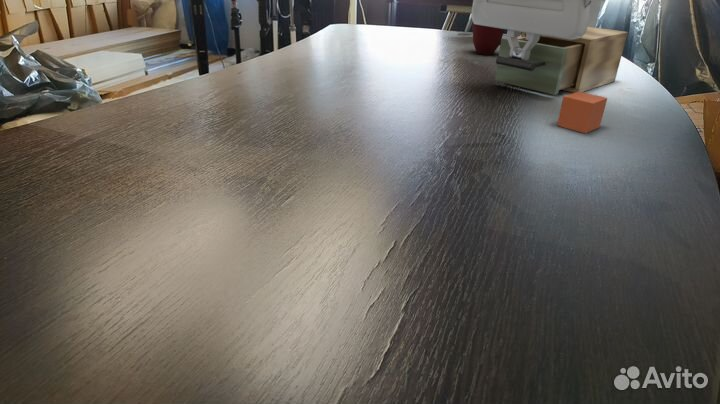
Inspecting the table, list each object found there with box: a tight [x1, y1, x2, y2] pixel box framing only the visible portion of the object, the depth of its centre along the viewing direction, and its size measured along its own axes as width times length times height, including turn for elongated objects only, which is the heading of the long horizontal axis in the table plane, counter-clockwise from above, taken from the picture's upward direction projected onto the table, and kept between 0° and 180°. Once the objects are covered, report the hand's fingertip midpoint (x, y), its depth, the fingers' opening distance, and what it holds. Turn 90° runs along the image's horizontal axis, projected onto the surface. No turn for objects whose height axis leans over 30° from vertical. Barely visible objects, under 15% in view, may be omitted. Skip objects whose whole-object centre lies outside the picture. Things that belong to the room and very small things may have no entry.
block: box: [557, 92, 608, 134], centre depth 74 cm, size 4×4×4 cm
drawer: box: [494, 36, 585, 96], centre depth 92 cm, size 19×12×8 cm, turn 132°
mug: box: [471, 19, 506, 56], centre depth 121 cm, size 10×8×10 cm
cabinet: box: [520, 27, 629, 93], centre depth 99 cm, size 16×14×10 cm
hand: (518, 58), depth 87 cm, fingers closed, pressing on drawer
